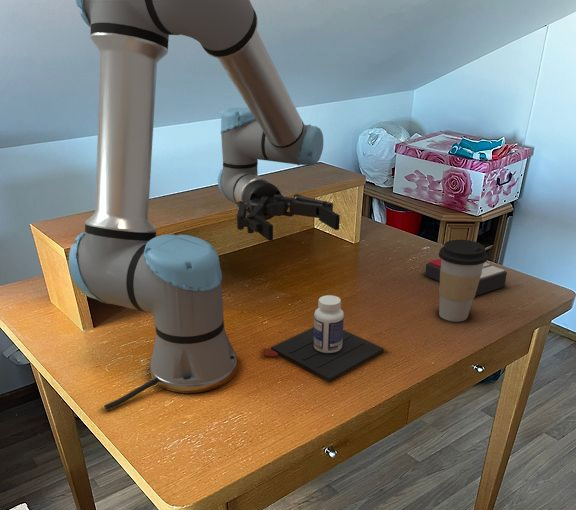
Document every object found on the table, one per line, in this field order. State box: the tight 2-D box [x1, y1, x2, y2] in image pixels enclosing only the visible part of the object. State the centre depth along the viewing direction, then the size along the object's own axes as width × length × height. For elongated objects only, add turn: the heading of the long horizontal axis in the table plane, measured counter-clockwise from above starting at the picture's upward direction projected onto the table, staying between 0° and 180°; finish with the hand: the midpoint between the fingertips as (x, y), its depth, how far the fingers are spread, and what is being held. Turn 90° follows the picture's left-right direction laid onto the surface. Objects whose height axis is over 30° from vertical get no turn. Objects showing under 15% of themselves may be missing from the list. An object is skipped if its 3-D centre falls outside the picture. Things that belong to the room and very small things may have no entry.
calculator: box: [424, 257, 508, 297], centre depth 139 cm, size 11×4×15 cm
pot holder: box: [264, 326, 385, 383], centre depth 112 cm, size 17×16×1 cm
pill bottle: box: [313, 294, 345, 353], centre depth 110 cm, size 5×5×10 cm
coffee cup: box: [438, 239, 489, 323], centre depth 121 cm, size 9×9×15 cm
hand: (305, 227), depth 108 cm, fingers open, 13 cm apart
